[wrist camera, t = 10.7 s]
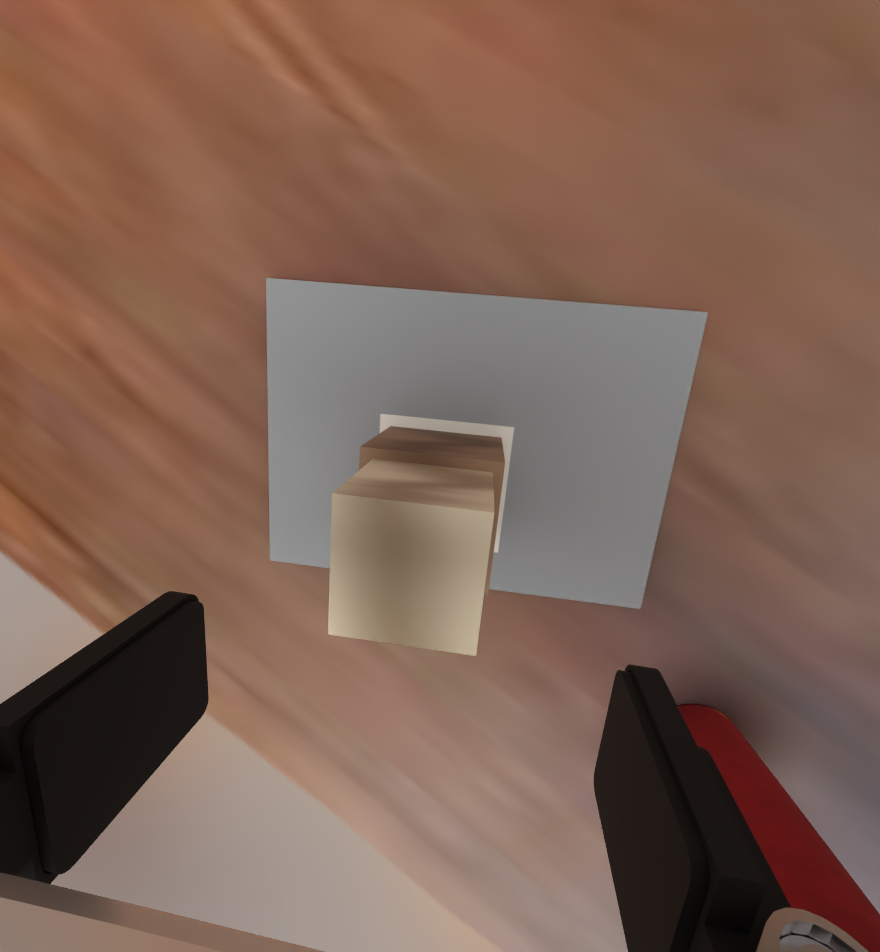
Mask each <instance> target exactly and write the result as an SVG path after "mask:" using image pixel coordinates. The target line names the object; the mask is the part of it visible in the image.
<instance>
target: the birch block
mask: <svg viewBox="0 0 880 952" xmlns="http://www.w3.org/2000/svg"><path fill="white" fill-rule="evenodd" d="M493 520H494V482H493V472H486V471H477V470H468V469H459V468H451V467H442V466H433V465H424V464H415V463H407V462H398V461H389V460H380V459H372V460H371V461H370V462H368V463H367V464H366V465H365V466H364V467H363V468H361V469H360V470H359V471H358V472H357V473H355V474H354V475H353V476H352V477H351V478H349V479H348V480H347V481H346V482H345V483H344V484H342V485H341V486H340V487H339V488H338V489H336V490H335V491H334V492H333V493H332V516H331V551H330V586H329V621H328V634H330V635H336V636H343V637H350V638H357V639H363V640H370V641H377V642H384V643H391V644H397V645H404V646H411V647H418V648H425V649H431V650H438V651H445V652H452V653H459V654H465V655H472V656H476V652H477V644H478V636H479V628H480V621H481V613H482V605H483V597H484V590H485V582H486V574H487V566H488V559H489V551H490V543H491V535H492V528H493Z"/></svg>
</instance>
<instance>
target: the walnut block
mask: <svg viewBox="0 0 880 952" xmlns="http://www.w3.org/2000/svg"><path fill="white" fill-rule="evenodd" d="M372 459H380V460H389V461H398V462H407V463H415V464H424V465H433V466H442V467H451V468H459V469H468V470H477V471H486V472H493V482H494V520H493V528H492V535H491V543H490V551H489V559H488V566H487V574H486V582H485V590H484V595H488V593H489V585H490V577H491V570H492V562H493V554H494V546H495V538H496V530H497V523H498V515H499V507H500V499H501V491H502V483H503V475H504V468H505V458H504V451H503V444H502V438H501V437H492V436H483V435H473V434H463V433H453V432H444V431H434V430H424V429H415V428H405V427H395V426H390V427H389V428H387V429H386V430H384V431H383V432H381V433H380V434H378V435H377V436H375V437H374V438H372V439H371V440H369V441H368V442H366V443H365V444H363V445H362V446H360V456H359V470H360V469H361V468H363V467H364V466H365V465H366V464H367V463H368V462H370V461H371V460H372Z"/></svg>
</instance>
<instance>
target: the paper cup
mask: <svg viewBox="0 0 880 952" xmlns="http://www.w3.org/2000/svg"><path fill="white" fill-rule="evenodd" d="M677 707H678V709H679V711H680V713H681V715H682V717H683V719H684V721H685V723H686V724H687V726H688V728H689V730H690V732H691V734H692V736H693V738H694V740H695V742H696V744H697V746H699V747H703V748H704V749H706V750H707V751H708V752H709V754H710V755H711V757H712V758H713V760H714V762H715V764H716V765H717V767H718V769H719V771H720V773H721V775H722V777H723V779H724V781H725V783H726V784H727V786H728V788H729V790H730V792H731V794H732V796H733V798H734V800H735V801H736V803H737V805H738V807H739V809H740V811H741V813H742V815H743V817H744V818H745V820H746V822H747V824H748V826H749V828H750V830H751V832H752V834H753V836H754V837H755V839H756V841H757V843H758V845H759V847H760V849H761V851H762V853H763V854H764V856H765V858H766V860H767V862H768V864H769V866H770V868H771V870H772V871H773V873H774V875H775V877H776V879H777V881H778V883H779V885H780V887H781V889H782V890H783V892H784V894H785V896H786V898H787V900H788V902H789V904H790V906H791V907H792V908H795V909H803V910H806V911H808V912H811V913H813V914H815V915H818V916H820V917H823V918H825V919H826V920H828V921H829V922H831V923H832V924H834V925H836V926H837V927H839V928H840V929H842V930H844V931H845V932H846V933H848V934H849V935H850V936H851V937H852V938H853V939H855V940H856V941H857V942H858V943H859V944H860V945H862V946H863V947H864V948H865V949H866V950H868V952H880V914H879V913H878V911H877V910H876V909H875V907H874V906H873V905H872V904H871V902H870V901H869V900H868V898H867V897H866V896H865V894H864V893H863V892H862V890H861V889H860V888H859V886H858V885H857V884H856V883H855V881H854V880H853V879H852V877H851V876H850V875H849V873H848V872H847V871H846V869H845V868H844V867H843V865H842V864H841V863H840V862H839V860H838V859H837V858H836V856H835V855H834V854H833V852H832V851H831V850H830V848H829V847H828V846H827V844H826V843H825V842H824V840H823V839H822V838H821V837H820V835H819V834H818V833H817V831H816V830H815V829H814V827H813V826H812V825H811V823H810V822H809V821H808V820H807V818H806V817H805V816H804V814H803V813H802V812H801V810H800V809H799V808H798V806H797V805H796V804H795V803H794V801H793V800H792V799H791V797H790V796H789V795H788V793H787V792H786V791H785V789H784V788H783V787H782V786H781V784H780V783H779V782H778V780H777V779H776V778H775V776H774V775H773V774H772V773H771V771H770V770H769V769H768V767H767V766H766V765H765V763H764V762H763V761H762V760H761V758H760V757H759V756H758V754H757V753H756V752H755V751H754V749H753V748H752V747H751V745H750V744H749V743H748V742H747V740H746V739H745V738H744V737H743V735H742V734H741V733H740V731H739V730H738V729H737V728H736V727H735V725H734V724H733V723H732V722H731V721H730V720H729V719H728V718H727V717H726V716H725V715H724V714H722V713H721V712H719V711H718V710H716V709H714V708H711V707H708V706H704V705H698V704H685V705H679V706H677Z"/></svg>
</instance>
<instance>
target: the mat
mask: <svg viewBox="0 0 880 952" xmlns="http://www.w3.org/2000/svg"><path fill="white" fill-rule="evenodd" d="M266 306H267V379H268V452H269V525H270V560H271V561H278V562H286V563H294V564H301V565H309V566H317V567H324V568H330V551H331V516H332V493H333V492H334V491H335V490H336V489H338V488H339V487H340V486H341V485H342V484H344V483H345V482H346V481H347V480H348V479H349V478H351V477H352V476H353V475H354V474H355V473H357V472H358V471H359V456H360V446H362V445H363V444H365V443H366V442H368V441H369V440H371V439H372V438H374V437H375V436H377V435H378V434H380V433H381V432H383V431H384V430H386V429H387V428H389V427H390V426H395V427H405V428H415V429H424V430H434V431H444V432H453V433H463V434H473V435H483V436H492V437H501V438H502V444H503V451H504V458H505V468H504V475H503V483H502V491H501V499H500V507H499V515H498V523H497V530H496V538H495V546H494V554H493V562H492V570H491V577H490V585H489V589H492V590H500V591H507V592H515V593H522V594H530V595H538V596H545V597H553V598H561V599H568V600H576V601H583V602H591V603H599V604H606V605H614V606H622V607H629V608H637V609H641V605H642V600H643V596H644V591H645V587H646V583H647V578H648V574H649V569H650V565H651V561H652V556H653V552H654V548H655V543H656V539H657V534H658V530H659V526H660V521H661V517H662V512H663V508H664V504H665V499H666V495H667V491H668V486H669V482H670V477H671V473H672V469H673V464H674V460H675V455H676V451H677V447H678V442H679V438H680V434H681V429H682V425H683V420H684V416H685V412H686V407H687V403H688V398H689V394H690V390H691V385H692V381H693V377H694V372H695V368H696V363H697V359H698V355H699V350H700V346H701V341H702V337H703V333H704V328H705V324H706V320H707V315H708V312H699V311H686V310H673V309H660V308H647V307H634V306H622V305H609V304H596V303H583V302H570V301H557V300H544V299H531V298H518V297H505V296H492V295H480V294H467V293H454V292H441V291H428V290H415V289H402V288H389V287H376V286H363V285H351V284H338V283H325V282H312V281H299V280H286V279H273V278H266Z"/></svg>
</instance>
